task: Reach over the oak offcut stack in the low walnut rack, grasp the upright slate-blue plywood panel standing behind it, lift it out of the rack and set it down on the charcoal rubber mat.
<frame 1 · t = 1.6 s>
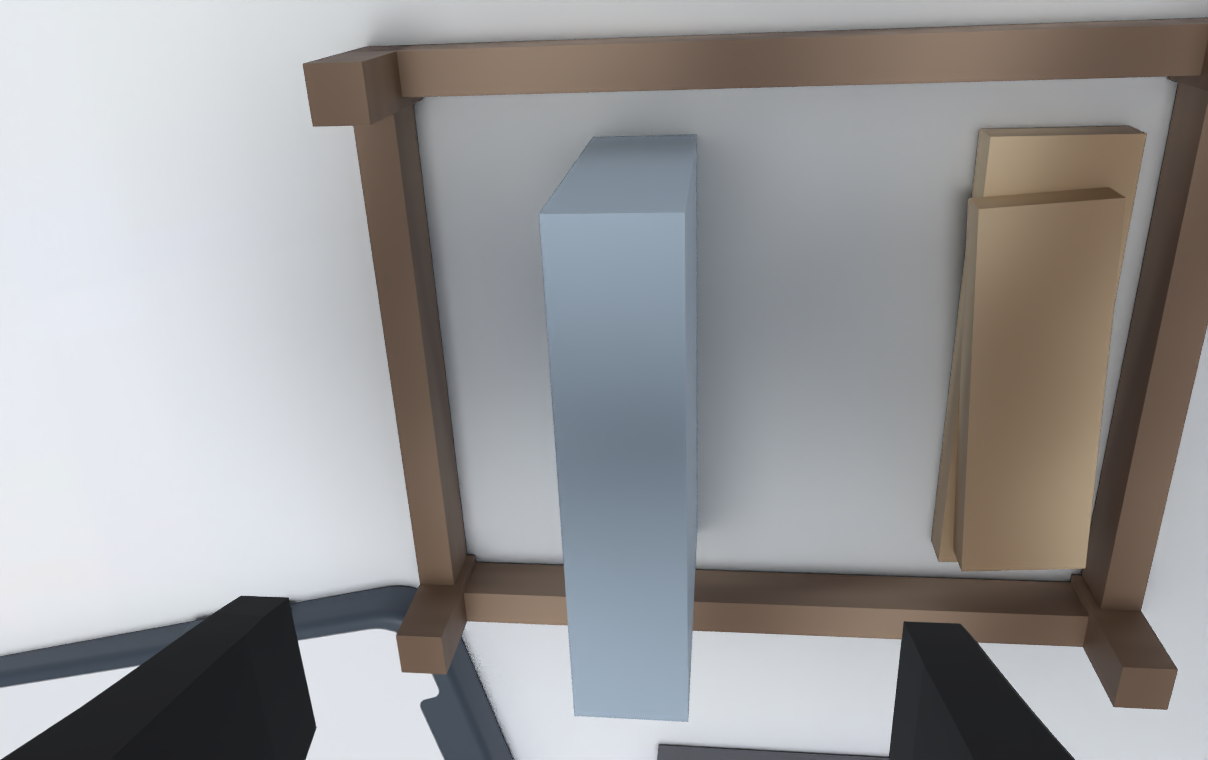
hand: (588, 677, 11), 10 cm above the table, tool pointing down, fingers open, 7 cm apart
rack: (769, 353, 20), on the table
phone case: (238, 732, 27), on the table
panel: (649, 350, 20), resting in rack
offcut stack: (1019, 354, 19), resting in rack
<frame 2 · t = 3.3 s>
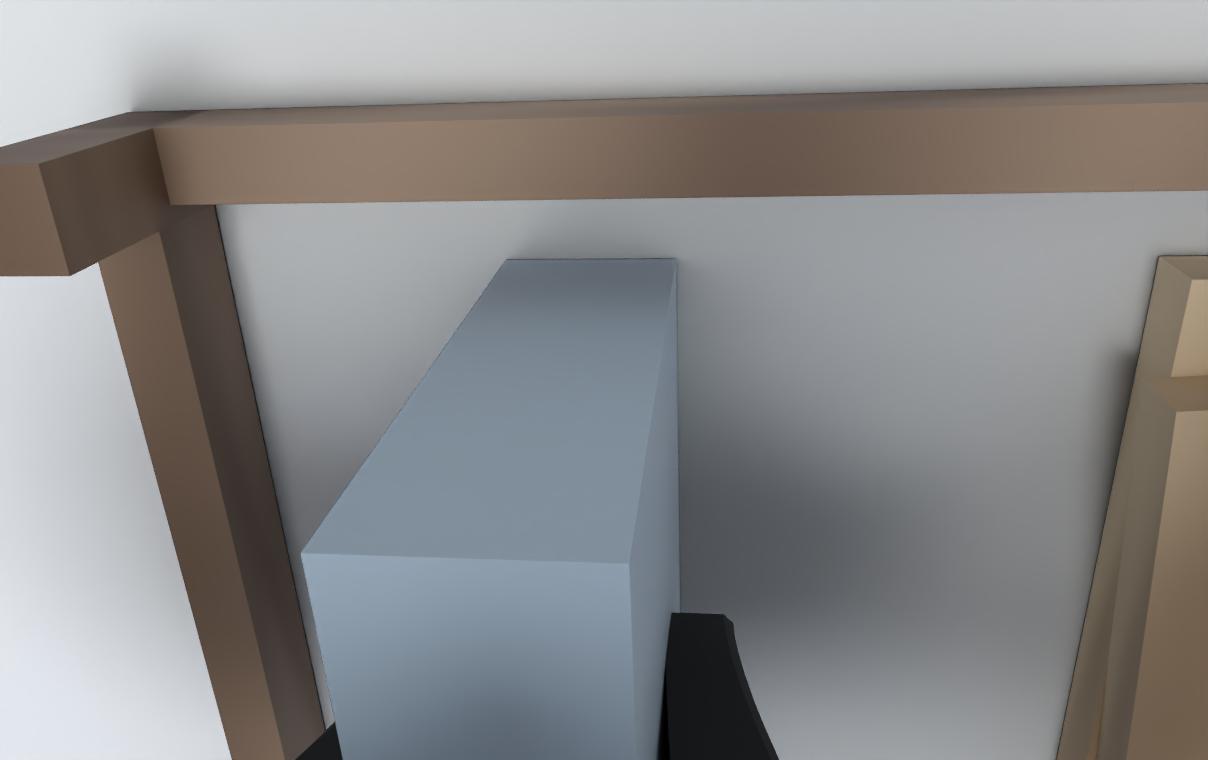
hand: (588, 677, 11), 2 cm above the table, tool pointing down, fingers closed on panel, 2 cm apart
rack: (794, 586, 13), on the table
panel: (605, 578, 13), resting in rack, touching gripper
offcut stack: (1198, 600, 12), resting in rack
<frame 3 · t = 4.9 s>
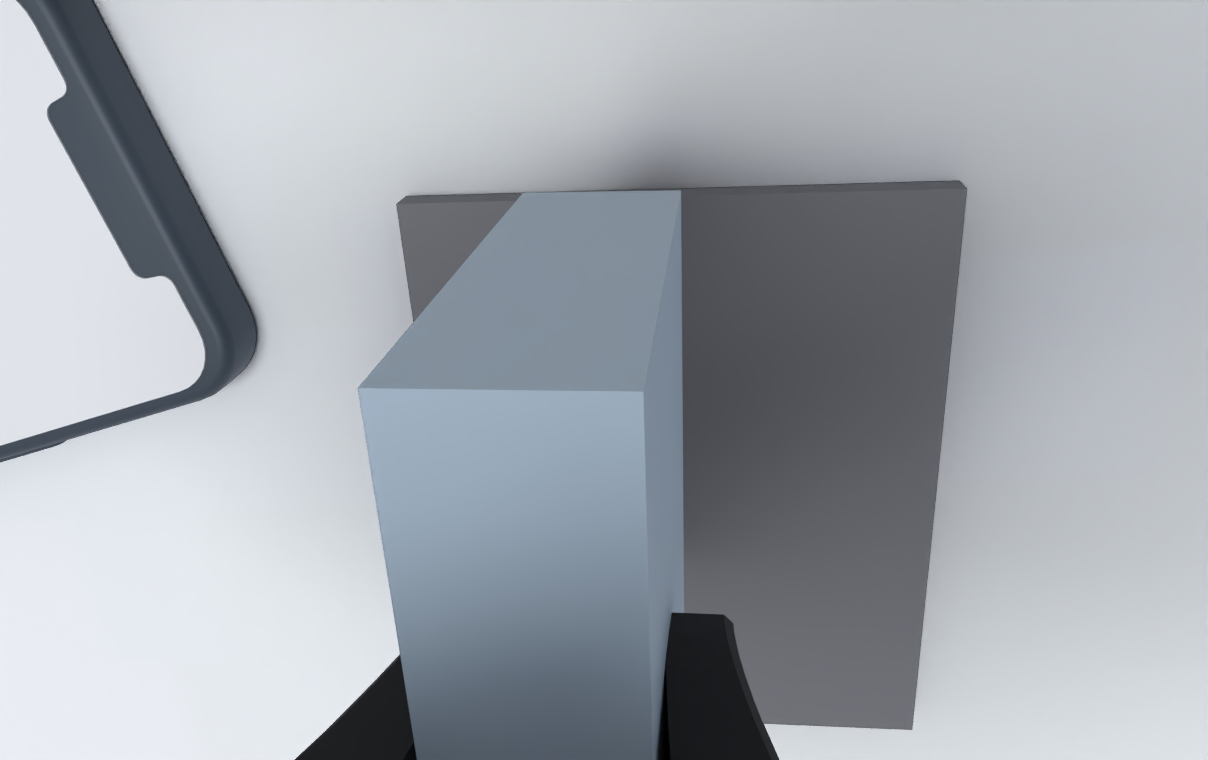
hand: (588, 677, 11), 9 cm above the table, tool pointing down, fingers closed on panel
panel: (614, 500, 14), point 5 cm above the table, touching gripper
mat: (679, 476, 20), on the table
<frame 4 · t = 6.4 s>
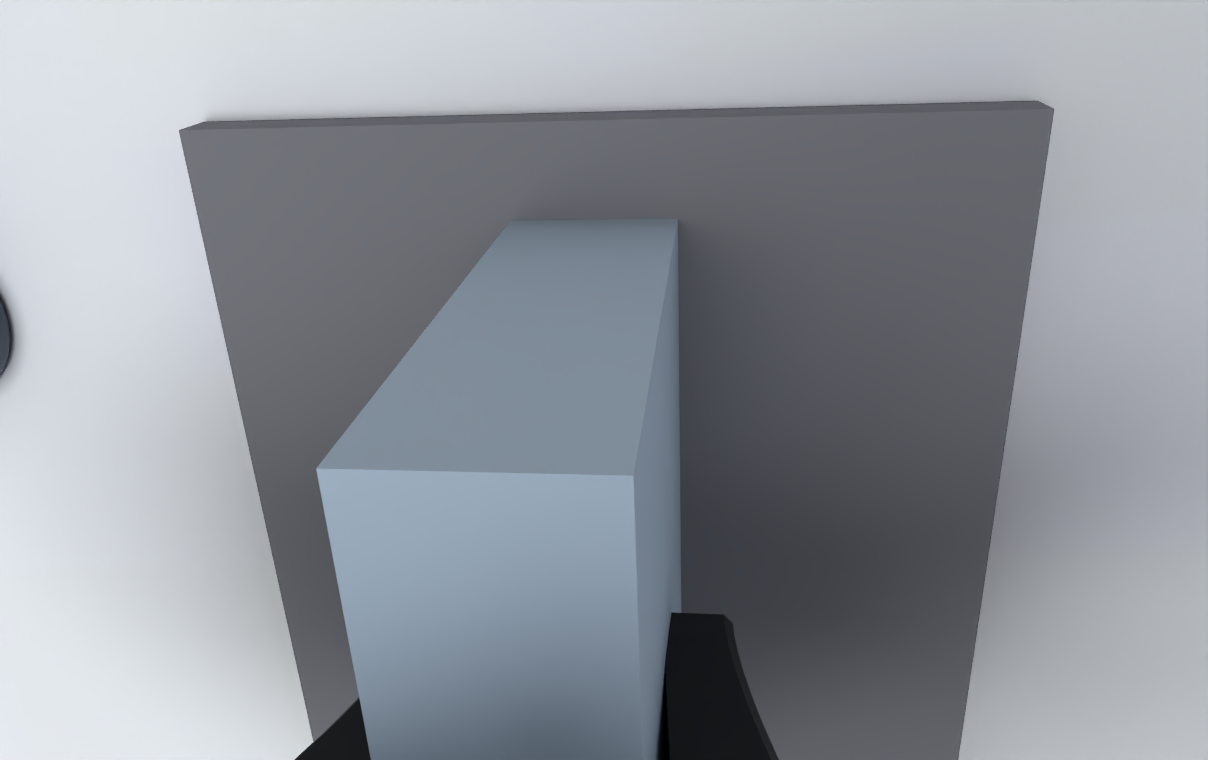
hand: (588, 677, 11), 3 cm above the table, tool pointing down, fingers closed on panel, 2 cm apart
panel: (608, 539, 13), point 1 cm above the table, touching gripper, mat
mat: (616, 536, 14), on the table
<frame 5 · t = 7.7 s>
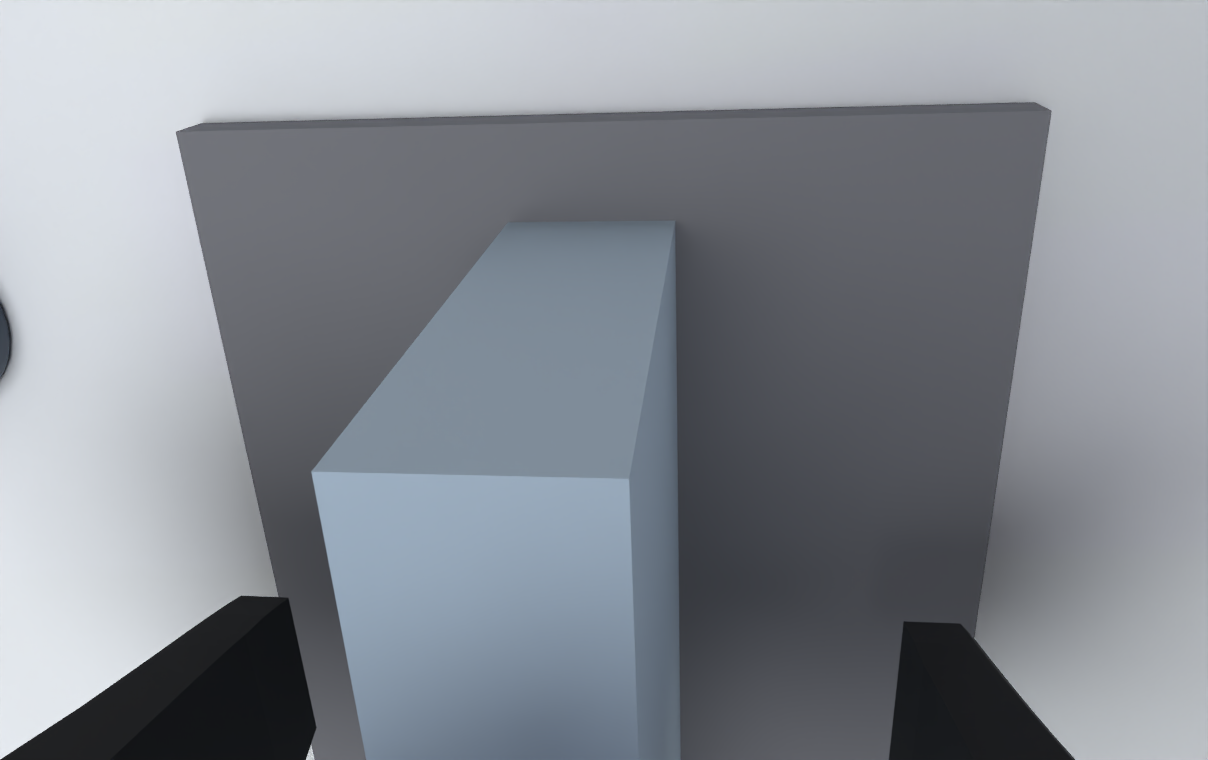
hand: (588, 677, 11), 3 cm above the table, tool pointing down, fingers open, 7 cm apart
panel: (605, 541, 13), point 1 cm above the table, touching mat
mat: (614, 538, 14), on the table
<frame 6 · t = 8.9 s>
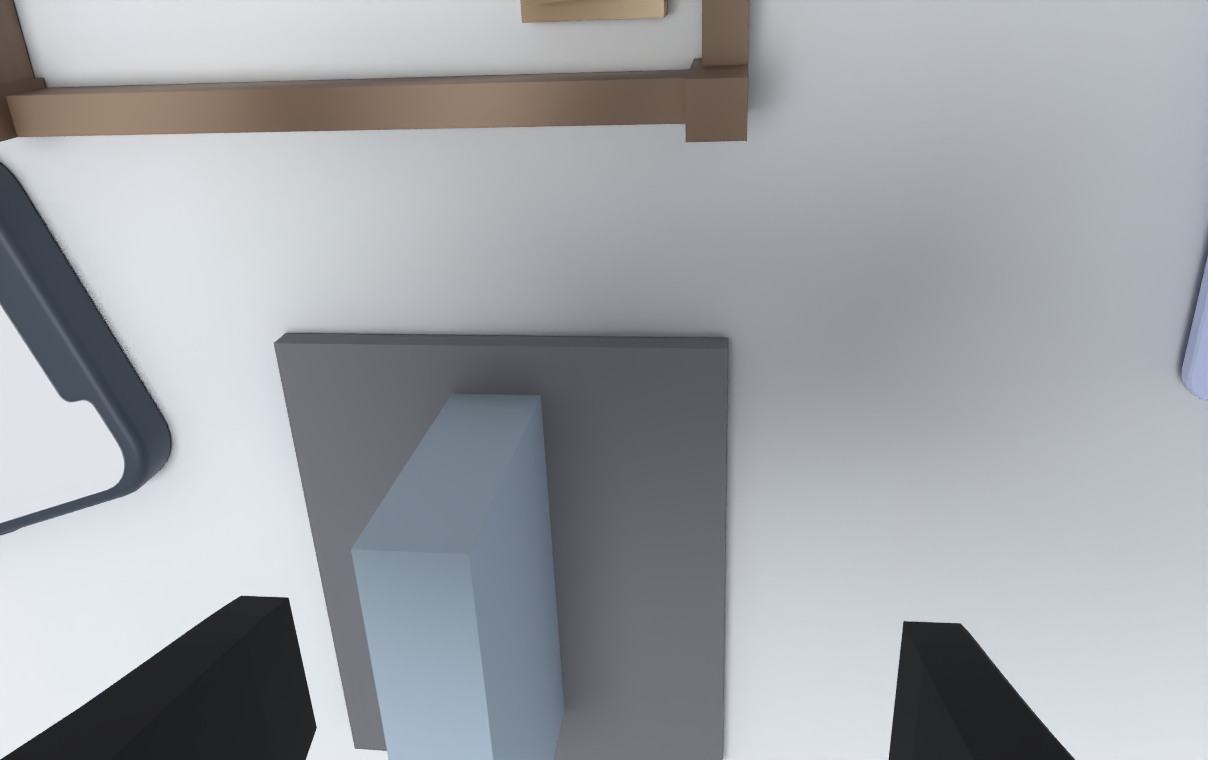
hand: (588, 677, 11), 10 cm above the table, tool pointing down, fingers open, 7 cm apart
panel: (512, 564, 23), point 1 cm above the table, touching mat
mat: (520, 561, 23), on the table
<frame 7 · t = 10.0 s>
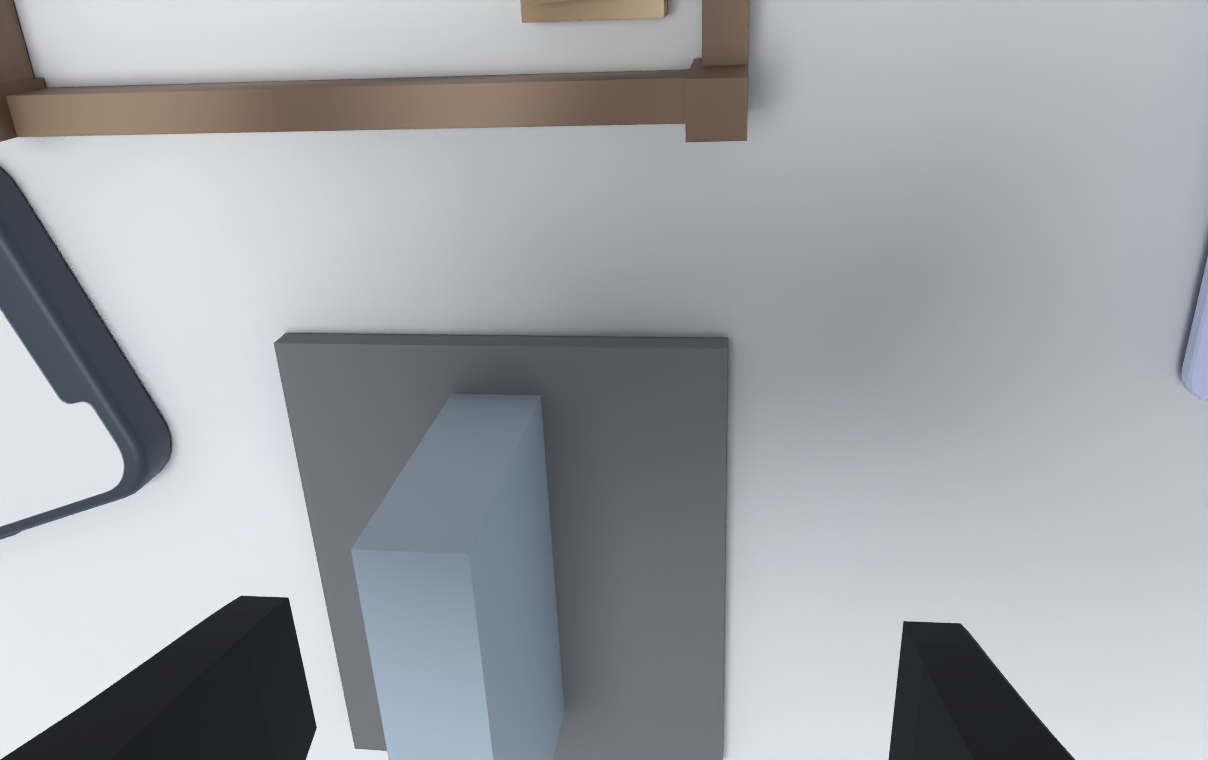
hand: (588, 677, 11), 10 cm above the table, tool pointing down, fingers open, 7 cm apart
panel: (512, 564, 23), point 1 cm above the table, touching mat
mat: (520, 561, 23), on the table
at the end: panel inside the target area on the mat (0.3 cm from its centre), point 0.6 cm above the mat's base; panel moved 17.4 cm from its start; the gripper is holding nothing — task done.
